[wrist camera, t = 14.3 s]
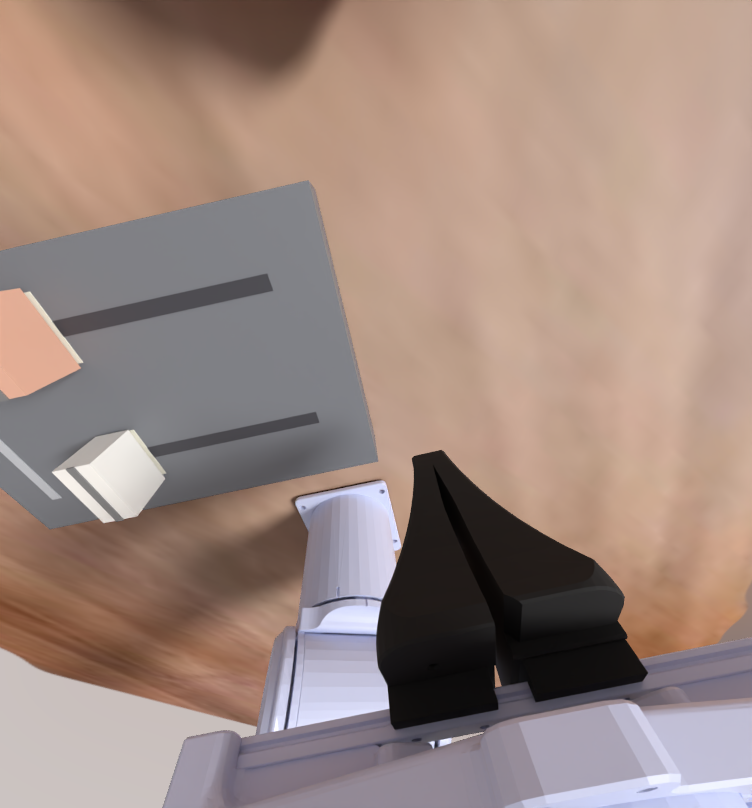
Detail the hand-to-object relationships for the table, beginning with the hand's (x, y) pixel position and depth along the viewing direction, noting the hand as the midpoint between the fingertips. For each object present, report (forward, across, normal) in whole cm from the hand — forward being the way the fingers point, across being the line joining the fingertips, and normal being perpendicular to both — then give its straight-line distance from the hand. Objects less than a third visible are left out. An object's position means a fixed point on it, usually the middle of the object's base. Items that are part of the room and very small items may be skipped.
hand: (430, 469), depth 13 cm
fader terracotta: (+6, +17, -9) cm, 20 cm away
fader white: (+6, +17, -1) cm, 18 cm away
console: (+9, +14, -4) cm, 18 cm away
